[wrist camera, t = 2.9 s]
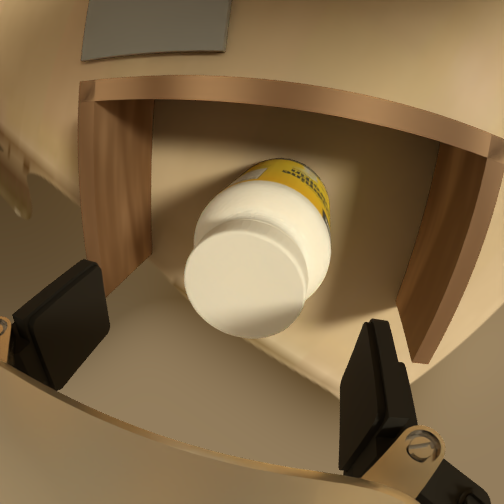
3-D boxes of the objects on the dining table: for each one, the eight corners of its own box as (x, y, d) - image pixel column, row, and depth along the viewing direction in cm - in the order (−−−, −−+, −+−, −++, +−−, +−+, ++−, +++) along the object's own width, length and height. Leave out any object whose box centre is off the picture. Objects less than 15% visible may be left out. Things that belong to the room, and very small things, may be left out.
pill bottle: (334, 241, 23) (336, 354, 12) (246, 249, 24) (189, 356, 14) (322, 149, 20) (322, 194, 10) (227, 163, 22) (141, 219, 11)
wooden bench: (458, 129, 17) (509, 141, 11) (408, 303, 23) (428, 364, 17) (141, 83, 20) (79, 81, 14) (139, 250, 26) (92, 293, 20)
